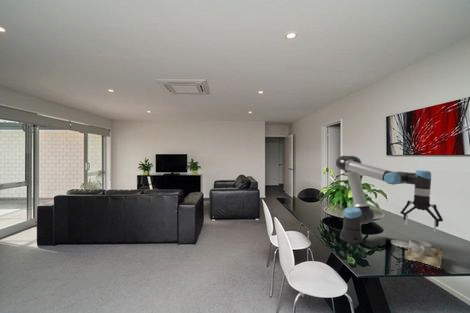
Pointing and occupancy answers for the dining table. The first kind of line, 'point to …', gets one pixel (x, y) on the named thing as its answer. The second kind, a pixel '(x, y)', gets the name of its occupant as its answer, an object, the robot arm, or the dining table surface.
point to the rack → (426, 257)
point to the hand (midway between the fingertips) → (419, 228)
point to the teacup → (419, 247)
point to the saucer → (400, 243)
